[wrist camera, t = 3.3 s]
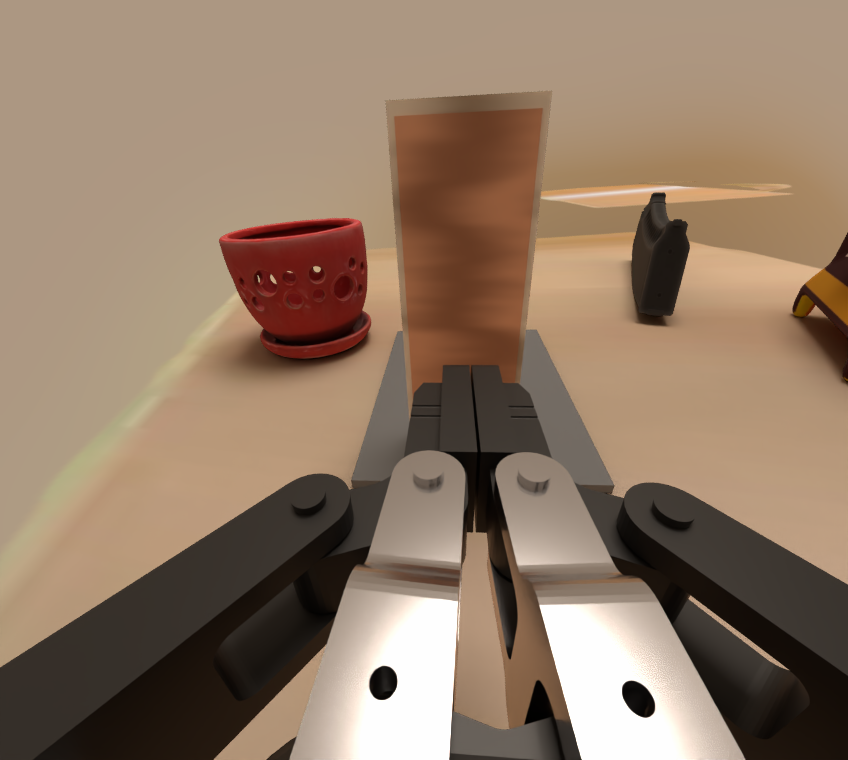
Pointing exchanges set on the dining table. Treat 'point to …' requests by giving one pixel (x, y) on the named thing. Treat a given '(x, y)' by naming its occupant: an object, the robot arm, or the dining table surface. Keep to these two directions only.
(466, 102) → the slab
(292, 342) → the plant pot
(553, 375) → the mat
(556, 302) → the dining table surface
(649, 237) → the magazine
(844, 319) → the decorative lantern
